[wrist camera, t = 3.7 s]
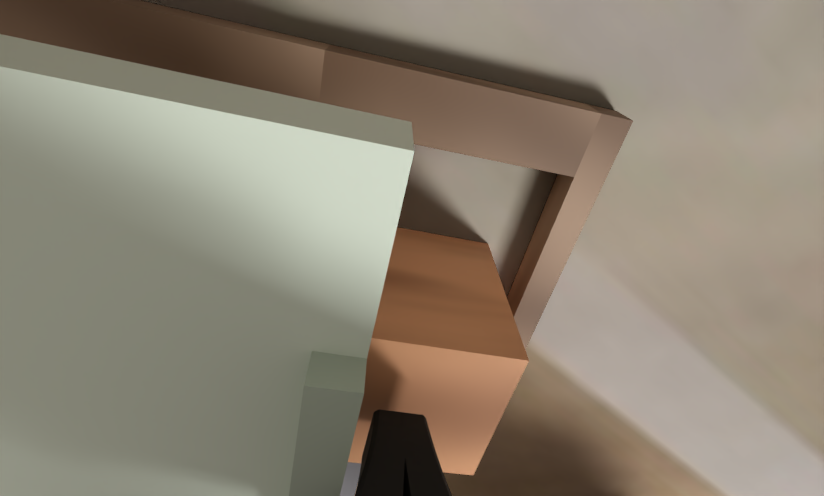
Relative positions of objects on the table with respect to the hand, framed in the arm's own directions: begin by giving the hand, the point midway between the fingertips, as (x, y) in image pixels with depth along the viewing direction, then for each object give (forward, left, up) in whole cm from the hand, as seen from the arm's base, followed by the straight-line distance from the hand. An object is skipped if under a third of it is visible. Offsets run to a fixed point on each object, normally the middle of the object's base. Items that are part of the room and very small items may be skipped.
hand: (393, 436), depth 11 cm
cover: (0, +6, 0) cm, 6 cm away
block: (0, -1, -7) cm, 7 cm away
